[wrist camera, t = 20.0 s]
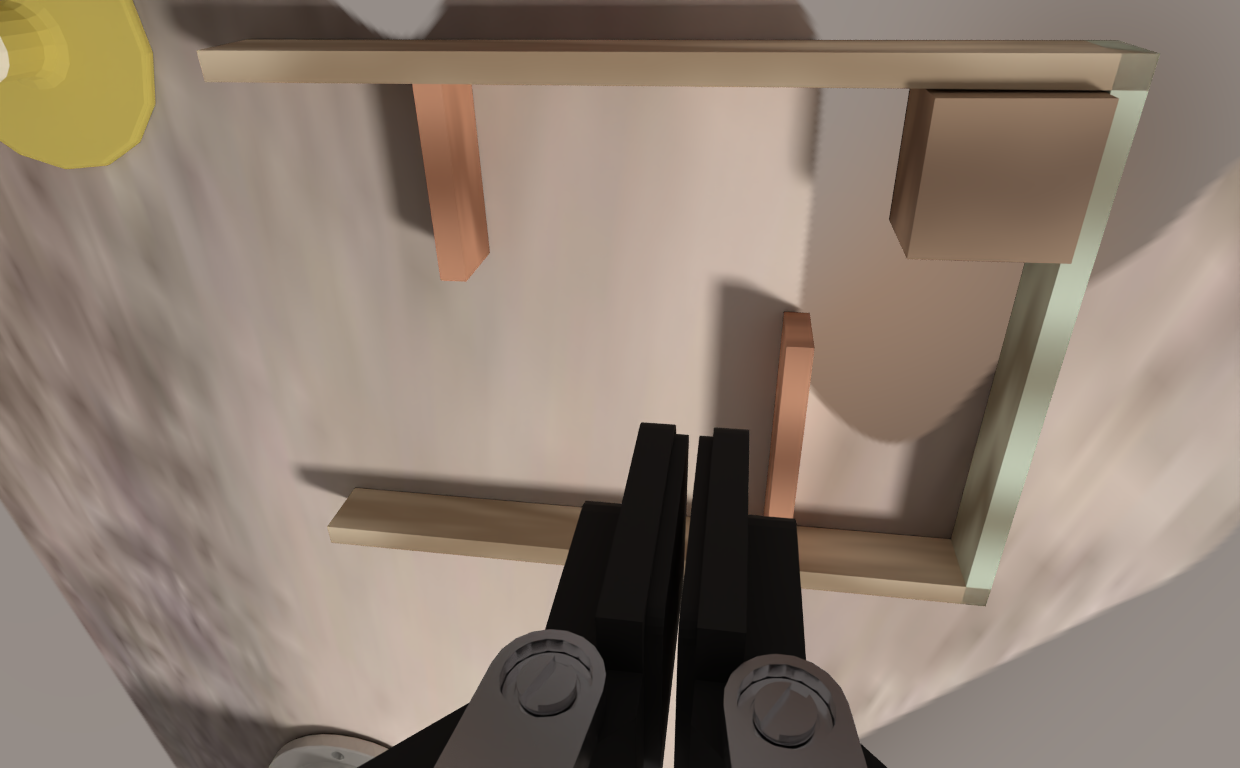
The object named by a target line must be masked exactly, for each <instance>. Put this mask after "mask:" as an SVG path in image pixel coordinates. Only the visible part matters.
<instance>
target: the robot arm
mask: <svg viewBox="0 0 1240 768" xmlns="http://www.w3.org/2000/svg"><path fill="white" fill-rule="evenodd" d="M688 449H689V435H683V434H676V425H672V424H657V423H643V422H642V423H641V424H640V427H639V432H638V436H637V440H636V445H635V449H634V453H633V457H632V462H631V466H630V470H629V475H628V479H627V483H626V487H625V492H624V496H623V500H622V504H617V503H605V502H593V501H585V503H584V504H583V506H582V509H581V512H580V515H579V519H578V522H577V525H576V529H575V532H574V535H573V539H572V542H571V545H570V549H569V552H568V555H567V559H566V562H565V565H564V569H563V572H562V575H561V579H560V582H559V585H558V589H557V592H556V595H555V599H554V602H553V605H552V609H551V612H550V615H549V619H548V622H547V625H546V629H545V630H541V631H534V632H531V633H528V634H526V635H523V636H521V637H518V638H516V639H515V640H513V641H512V642H511V643H509V644H508V645H507V646H505V647H504V648H502V650H501V651H500V652H499V653H498V655H497V656H496V657H495V659H494V660H493V661H492V663H491V664H490V666H489V668H488V670H487V672H486V674H485V675H484V677H483V679H482V681H481V683H480V684H479V686H478V688H477V690H476V692H475V694H474V695H473V697H472V699H471V701H470V703H468V704H466V705H464V706H463V707H461V708H459V709H457V710H456V711H454V712H452V713H451V714H449V715H447V716H445V717H444V718H442V719H440V720H438V721H437V722H435V723H433V724H431V725H430V726H428V727H426V728H425V729H423V730H421V731H419V732H418V733H416V734H414V735H412V736H411V737H409V738H407V739H405V740H404V741H402V742H400V743H399V744H397V745H395V746H393V747H392V748H390V749H388V748H385V747H383V746H381V745H378V744H376V743H373V742H370V741H366V740H362V739H359V738H355V737H349V736H343V735H332V734H319V735H310V736H305V737H302V738H298V739H295V740H293V741H291V742H289V743H287V744H285V745H284V746H283V747H282V748H281V749H280V750H279V751H278V752H277V754H276V755H275V757H274V759H273V761H272V762H271V764H270V766H269V768H663V759H664V750H665V741H666V732H667V723H668V714H669V705H670V696H671V687H672V678H673V669H674V660H675V651H676V642H677V633H678V624H679V633H678V657H677V689H676V720H675V751H674V768H887V767H886V766H885V765H884V764H883V763H881V762H880V761H879V760H878V759H877V758H876V757H875V756H873V754H871V753H870V752H869V751H868V750H867V749H866V748H865V747H864V746H863V745H861V744H860V741H859V737H858V734H857V731H856V727H855V724H854V720H853V717H852V713H851V710H850V707H849V703H848V701H847V699H846V697H845V695H844V693H843V691H842V689H841V687H840V686H839V685H838V684H837V683H836V681H835V680H834V679H833V678H832V677H831V676H830V675H829V674H828V673H827V672H826V671H824V670H823V669H821V668H820V667H818V666H817V665H815V664H814V663H812V662H809V661H807V660H806V653H805V639H804V624H803V609H802V595H801V580H800V565H799V550H798V536H797V524H796V520H795V519H793V518H781V517H770V516H758V515H748V482H749V430H743V429H729V428H714V434H713V437H710V436H700V437H699V445H698V454H697V463H696V472H695V481H694V490H693V499H692V508H691V517H690V526H689V535H688V544H687V553H686V562H685V534H686V505H687V477H688ZM684 562H685V571H684ZM683 578H684V580H683ZM682 588H683V589H682ZM681 597H682V598H681ZM680 606H681V608H680ZM679 615H680V619H679Z"/></svg>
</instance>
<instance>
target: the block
mask: <svg viewBox="0 0 1240 768" xmlns="http://www.w3.org/2000/svg"><path fill="white" fill-rule="evenodd" d="M1118 101H1119V98H1117V97H1115V96H1113V95H1111V94H1109V93H1107V92H1105V91H1102V90H1015V89H909V95H908V101H907V107H906V113H905V120H904V126H903V133H902V139H901V145H900V152H899V158H898V164H897V171H896V177H895V183H894V190H893V196H892V203H891V209H890V216H889V220H890V223H891V225H892V227H893V229H894V231H895V233H896V236H897V238H898V240H899V242H900V245H901V247H902V249H903V251H904V253H905V255H906V258H907V259H921V260H955V261H956V260H957V261H990V262H991V261H992V262H1024V263H1058V264H1071V263H1072V260H1073V256H1074V253H1075V249H1076V246H1077V242H1078V239H1079V236H1080V232H1081V229H1082V225H1083V222H1084V218H1085V215H1086V211H1087V208H1088V204H1089V201H1090V198H1091V194H1092V191H1093V187H1094V184H1095V180H1096V177H1097V173H1098V170H1099V167H1100V163H1101V160H1102V156H1103V153H1104V149H1105V146H1106V142H1107V139H1108V136H1109V132H1110V129H1111V125H1112V122H1113V118H1114V115H1115V111H1116V108H1117V105H1118Z"/></svg>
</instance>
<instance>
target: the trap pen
mask: <svg viewBox="0 0 1240 768" xmlns="http://www.w3.org/2000/svg"><path fill="white" fill-rule="evenodd" d="M197 54H198V58H199V61H200V65H201V69H202V72H203V76H204V80H205V82H266V83H373V84H412V86H413V93H414V99H415V106H416V113H417V120H418V127H419V134H420V141H421V148H422V155H423V161H424V168H425V175H426V182H427V189H428V196H429V203H430V210H431V217H432V223H433V230H434V237H435V244H436V251H437V258H438V265H439V272H440V279H441V280H444V281H465V282H466V281H467V280H468V279H469V278H470V276H471V275H472V274H473V273H474V271H475V270H476V269H477V268H478V267H479V265H480V264H481V263H482V262H483V260H484V259H485V258H486V257H487V256H488V254H489V253H490V250H489V241H488V232H487V223H486V213H485V204H484V195H483V186H482V177H481V167H480V158H479V149H478V140H477V130H476V121H475V112H474V103H473V93H472V84H480V85H587V86H694V87H801V88H909V89H1015V90H1102V91H1105V92H1107V93H1109V94H1111V95H1113V96H1115V97H1117V98H1119V101H1118V105H1117V108H1116V111H1115V115H1114V118H1113V122H1112V125H1111V129H1110V132H1109V136H1108V139H1107V142H1106V146H1105V149H1104V153H1103V156H1102V160H1101V163H1100V167H1099V170H1098V173H1097V177H1096V180H1095V184H1094V187H1093V191H1092V194H1091V198H1090V201H1089V204H1088V208H1087V211H1086V215H1085V218H1084V222H1083V225H1082V229H1081V232H1080V236H1079V239H1078V242H1077V246H1076V249H1075V253H1074V256H1073V260H1072V263H1071V264H1058V263H1025V264H1024V267H1023V271H1022V275H1021V279H1020V282H1019V286H1018V290H1017V294H1016V297H1015V301H1014V305H1013V309H1012V313H1011V316H1010V320H1009V324H1008V327H1007V331H1006V335H1005V339H1004V342H1003V346H1002V350H1001V353H1000V357H999V361H998V365H997V368H996V372H995V376H994V380H993V383H992V387H991V391H990V395H989V398H988V402H987V406H986V410H985V413H984V417H983V421H982V425H981V428H980V432H979V436H978V440H977V443H976V447H975V451H974V455H973V458H972V462H971V466H970V469H969V473H968V477H967V481H966V484H965V488H964V492H963V496H962V499H961V503H960V507H959V511H958V514H957V518H956V522H955V526H954V529H953V533H952V537H951V539H942V538H931V537H919V536H907V535H896V534H884V533H873V532H861V531H850V530H838V529H826V528H815V527H803V526H797V536H798V550H799V565H800V580H801V588H803V589H813V590H824V591H834V592H844V593H854V594H865V595H875V596H885V597H896V598H906V599H916V600H926V601H937V602H947V603H957V604H968V605H978V606H986V603H987V600H988V597H989V594H990V591H991V587H992V584H993V581H994V578H995V575H996V572H997V568H998V565H999V562H1000V559H1001V556H1002V553H1003V549H1004V546H1005V543H1006V540H1007V537H1008V534H1009V530H1010V527H1011V524H1012V521H1013V518H1014V515H1015V511H1016V508H1017V505H1018V502H1019V499H1020V496H1021V492H1022V489H1023V486H1024V483H1025V480H1026V477H1027V473H1028V470H1029V467H1030V464H1031V461H1032V458H1033V454H1034V451H1035V448H1036V445H1037V442H1038V439H1039V435H1040V432H1041V429H1042V426H1043V423H1044V420H1045V417H1046V413H1047V410H1048V407H1049V404H1050V401H1051V398H1052V394H1053V391H1054V388H1055V385H1056V382H1057V379H1058V375H1059V372H1060V369H1061V366H1062V363H1063V360H1064V356H1065V353H1066V350H1067V347H1068V344H1069V341H1070V337H1071V334H1072V331H1073V328H1074V325H1075V322H1076V318H1077V315H1078V312H1079V309H1080V306H1081V303H1082V299H1083V296H1084V293H1085V290H1086V287H1087V284H1088V280H1089V277H1090V274H1091V271H1092V268H1093V265H1094V261H1095V258H1096V255H1097V252H1098V249H1099V246H1100V242H1101V239H1102V236H1103V233H1104V230H1105V227H1106V223H1107V220H1108V217H1109V214H1110V211H1111V208H1112V204H1113V201H1114V198H1115V195H1116V192H1117V188H1118V185H1119V182H1120V179H1121V176H1122V173H1123V170H1124V166H1125V163H1126V160H1127V157H1128V154H1129V151H1130V147H1131V144H1132V141H1133V138H1134V135H1135V132H1136V128H1137V125H1138V122H1139V119H1140V116H1141V113H1142V109H1143V106H1144V103H1145V99H1146V96H1147V93H1148V90H1149V87H1150V84H1151V81H1152V78H1153V75H1154V71H1155V68H1156V65H1157V62H1158V58H1159V56H1160V54H1159V53H1157V52H1153V51H1150V50H1147V49H1144V48H1140V47H1137V46H1134V45H1131V44H1128V43H1125V42H1121V41H1118V40H258V39H246V40H242V41H237V42H233V43H228V44H224V45H219V46H215V47H210V48H206V49H201V50H197ZM813 355H814V341H813V334H812V328H811V319H810V313H798V312H784V318H783V328H782V337H781V347H780V357H779V367H778V377H777V387H776V396H775V406H774V416H773V426H772V436H771V446H770V456H769V465H768V475H767V485H766V495H765V505H764V515H763V516H770V517H781V518H793V513H794V505H795V498H796V490H797V482H798V474H799V466H800V458H801V450H802V442H803V435H804V427H805V419H806V411H807V403H808V395H809V387H810V379H811V371H812V364H813ZM581 509H582V507H572V506H560V505H548V504H537V503H525V502H514V501H502V500H491V499H479V498H467V497H456V496H444V495H433V494H421V493H409V492H398V491H386V490H375V489H363V488H355V489H354V490H353V491H352V493H351V494H350V496H349V497H348V498H347V500H346V501H345V503H344V504H343V505H342V507H341V508H340V510H339V511H338V512H337V514H336V515H335V516H334V518H333V519H332V521H331V522H330V523H329V525H328V526H327V528H328V532H329V535H330V539H331V543H340V544H351V545H361V546H371V547H381V548H392V549H402V550H412V551H423V552H433V553H443V554H453V555H464V556H474V557H484V558H494V559H505V560H515V561H525V562H536V563H546V564H556V565H565V562H566V559H567V555H568V552H569V549H570V545H571V542H572V539H573V535H574V532H575V529H576V525H577V522H578V519H579V515H580V512H581ZM689 526H690V517H687V516H686V534H685V562H686V553H687V544H688V535H689ZM685 562H684V571H685Z"/></svg>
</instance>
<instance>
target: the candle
mask: <svg viewBox="0 0 1240 768" xmlns="http://www.w3.org/2000/svg"><path fill="white" fill-rule="evenodd" d="M154 106H155V86H154V67H153V52H152V49H151V47H150V44H149V42H148V39H147V37H146V34H145V31H144V29H143V26H142V24H141V21H140V19H139V16H138V13H137V11H136V8H135V6H134V3H133V1H132V0H0V141H1V142H3V143H4V144H6V145H7V146H8V147H10V148H11V149H13V150H14V151H16V152H17V153H18V154H20V155H23V156H26V157H30V158H33V159H36V160H39V161H42V162H45V163H48V164H51V165H54V166H57V167H61V168H64V169H74V168H85V167H96V166H107V165H110V164H111V163H113V162H114V161H115V160H117V159H118V158H119V157H121V156H122V155H124V154H125V153H126V152H128V151H129V150H130V149H132V148H133V147H134V146H136V145H137V144H138V143H140V141H141V139H142V136H143V134H144V131H145V129H146V126H147V124H148V121H149V119H150V116H151V114H152V111H153V109H154Z"/></svg>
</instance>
